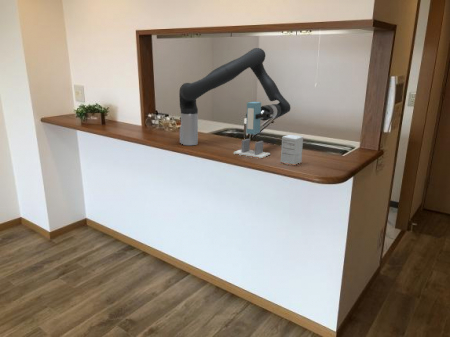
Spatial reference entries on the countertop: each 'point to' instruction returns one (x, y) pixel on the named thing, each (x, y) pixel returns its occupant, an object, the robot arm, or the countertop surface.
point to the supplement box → (291, 149)
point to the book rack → (256, 153)
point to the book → (253, 118)
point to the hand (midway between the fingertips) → (251, 116)
